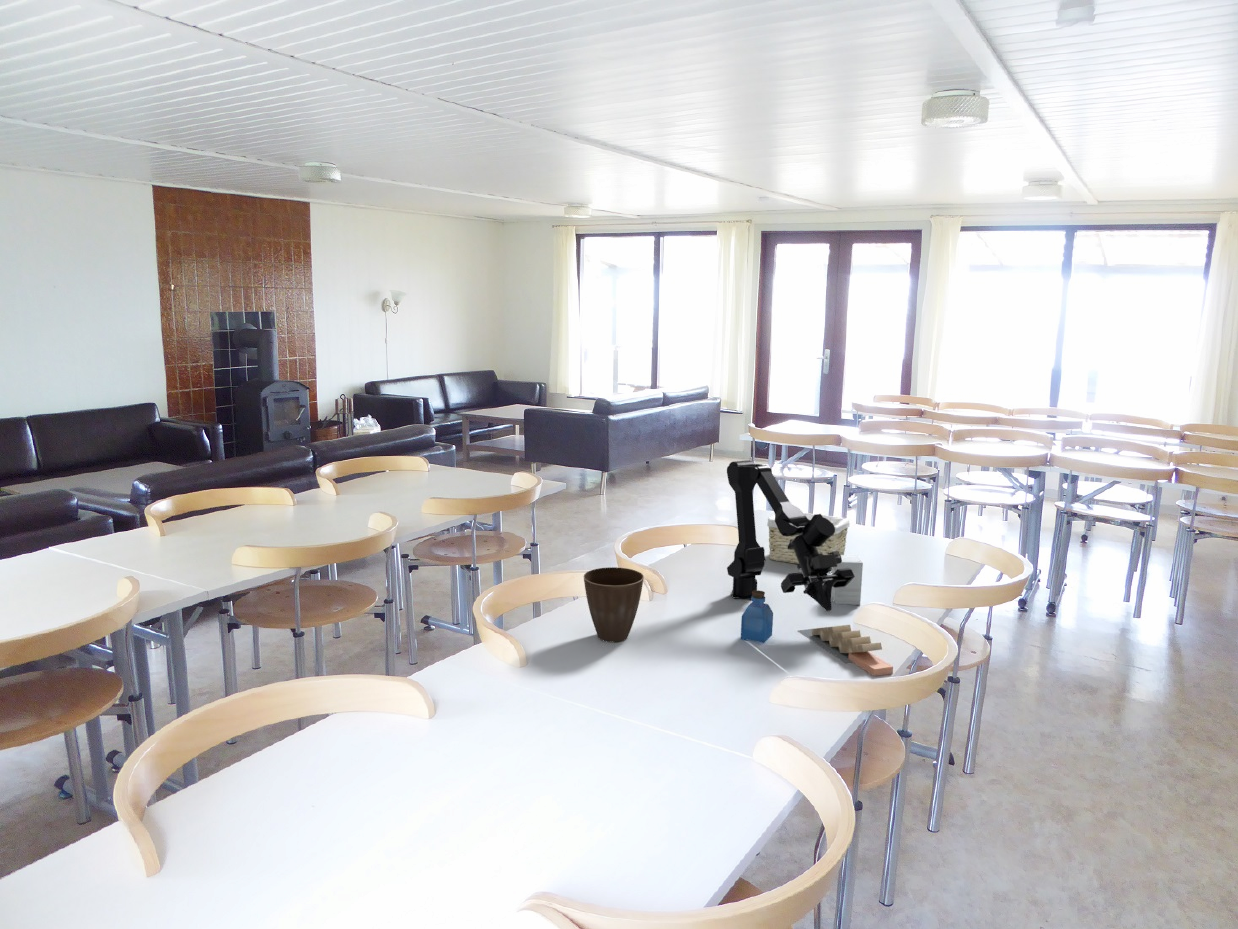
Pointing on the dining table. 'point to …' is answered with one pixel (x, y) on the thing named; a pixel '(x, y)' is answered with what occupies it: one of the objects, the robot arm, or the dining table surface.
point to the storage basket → (782, 542)
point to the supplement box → (853, 588)
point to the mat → (826, 645)
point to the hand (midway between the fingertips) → (829, 610)
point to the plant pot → (613, 600)
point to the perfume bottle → (757, 619)
